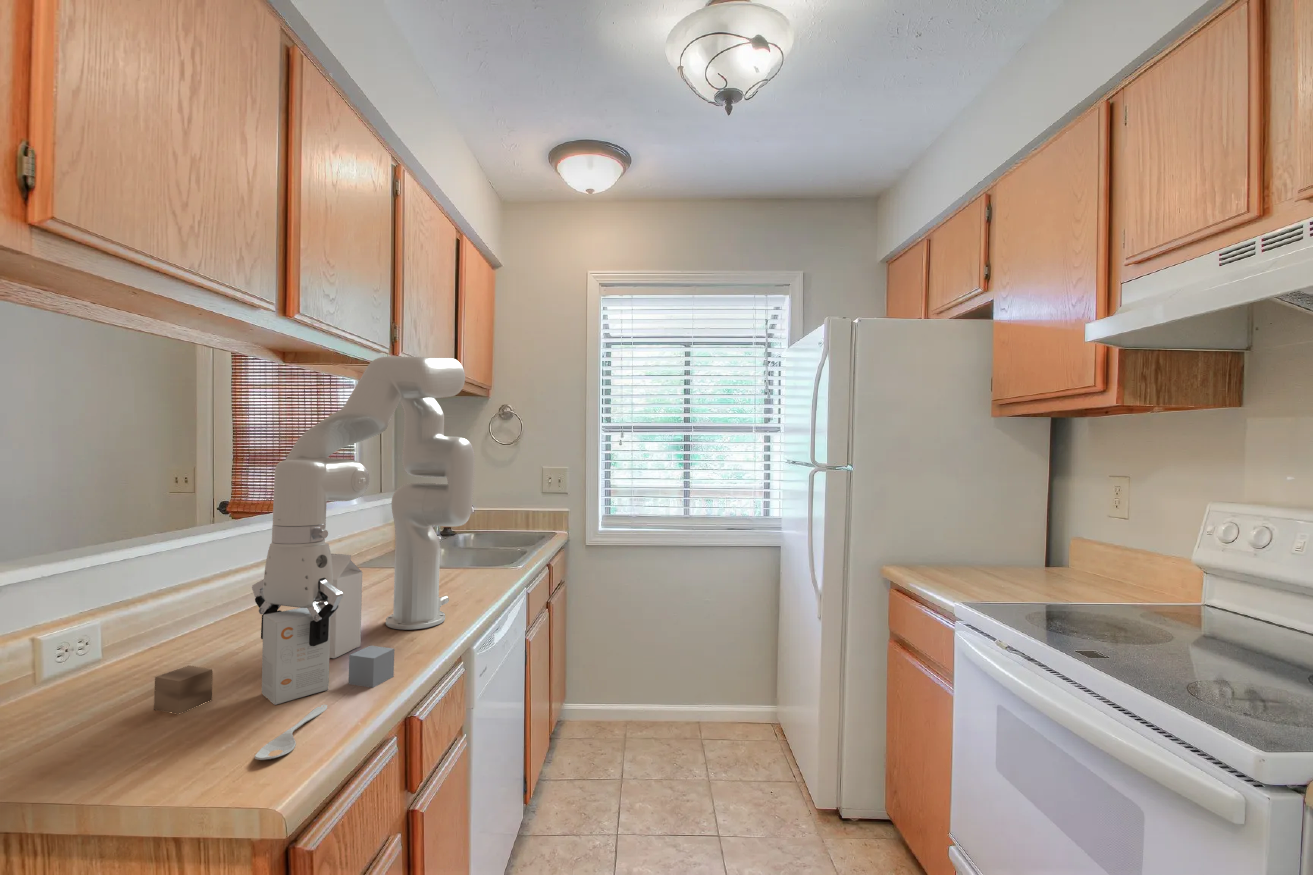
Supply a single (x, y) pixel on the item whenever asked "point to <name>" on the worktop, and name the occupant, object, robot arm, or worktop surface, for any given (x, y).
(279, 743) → the spoon
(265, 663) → the small box
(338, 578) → the milk carton
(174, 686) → the walnut block
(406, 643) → the worktop surface
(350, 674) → the slate block
